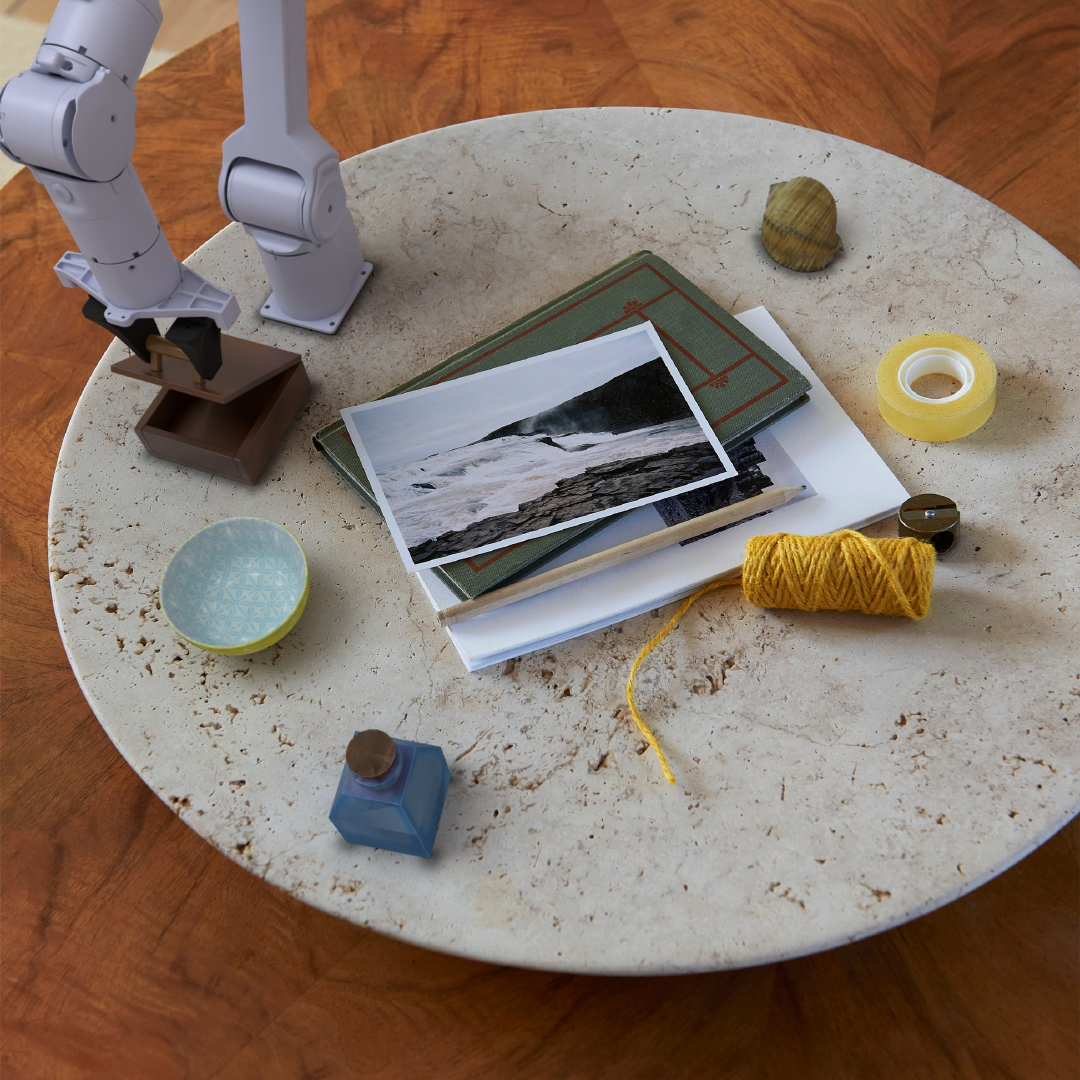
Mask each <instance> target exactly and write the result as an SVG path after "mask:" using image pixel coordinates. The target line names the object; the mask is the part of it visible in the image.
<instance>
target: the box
mask: <svg viewBox="0 0 1080 1080" xmlns="http://www.w3.org/2000/svg"><path fill="white" fill-rule="evenodd" d="M312 388H313V386H312V384H311V381H310V378H309V375H308V373H307V370H306V366H305V364H304V361H303V360H302V359H301V361H300V362H298V363H296V364H295V365H293V366H291V367H289V368H288V369H286V370H284V371H282V372H281V373H279V374H277V375H275V376H274V377H272V378H270V379H268V380H266V381H265V382H263V383H261V384H259V385H258V386H256V387H254V388H252V389H251V390H249V391H247V392H245V393H244V394H242V395H240V396H238V397H236V398H235V399H233V400H231V401H229V402H228V403H226V404H222V403H218V402H215V401H211V400H208V399H204V398H201V397H197V396H194V395H190V394H187V393H183V392H180V391H176V390H173V389H169V388H166V387H162V386H161V388H160V389H159V391H158V393H157V394H156V396H155V397H154V398H153V400H152V402H151V403H150V404H149V406H148V407H147V408H146V410H145V411H144V413H143V414H142V415H141V417H140V418H139V420H138V422H137V423H136V425H135V426H134V428H133V431H134V433H135V434H136V437H137V438H138V439H139V441H140V442H141V444H142V446H143V447H144V449H145V451H146V453H147V454H148V455H149V456H152V457H155V458H159V459H163V460H165V461H168V462H172V463H175V464H179V465H182V466H185V467H188V468H192V469H196V470H198V471H202V472H205V473H209V474H212V475H215V476H219V477H222V478H225V479H229V480H231V481H234V482H239V483H242V484H245V485H248V486H251V487H253V486H254V485H255V484H256V482H257V480H258V479H259V478H260V475H261V474H262V473H263V471H264V468H265V467H266V465H267V464H268V462H269V460H270V458H271V457H272V455H273V453H274V452H275V450H276V448H277V447H278V445H279V443H280V442H281V440H282V438H283V437H284V435H285V433H286V432H287V430H288V429H289V427H290V425H291V423H292V421H293V420H294V418H295V417H296V415H297V413H298V411H299V410H300V408H301V407H302V405H303V403H304V401H305V400H306V399H307V396H308V395H309V393H310V392H311V389H312Z"/></svg>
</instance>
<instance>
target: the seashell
mask: <svg viewBox="0 0 1080 1080" xmlns="http://www.w3.org/2000/svg"><path fill="white" fill-rule="evenodd" d="M767 196H768V197H767V198H766V202H765V211H764V213H763V216H762V223H761V227H760V230H761V235H760V238H761V240H762V242H761V243H762V246H763V247H764V250H765V252H767V254H768V257H769V258H771V259H772V260H773V261H775V262H776V263H777V264H778V265H781V267H785V268H787V269H790V270H793V271H796V272H801V273H803V272H806V273H809V272H810V273H811V272H819V271H820V270H821V271H823V270H824V269H825V267H827V265H828V264H829V263H830V262H831V261H833V259H834V258H835V256H836V253H837V252H838V251H840V252H845V250H844V244H843V239H842V237H841V235H839V234H838V233H837V222H838V218H837V217H838V212H837V210H838V209H837V204H836V200H835V198H834V196H833V194H832V193H831V191H830V189H829V188H828V187H826V185H825V184H824V183H822V182H821V181H819V180H818V179H815V178H813V177H812V176H811V177H809V176H797V177H793V178H791V179H790V180H788V181H787V180H783V181H780V182H776V183H772V184H770V185H769V190H768V195H767Z"/></svg>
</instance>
